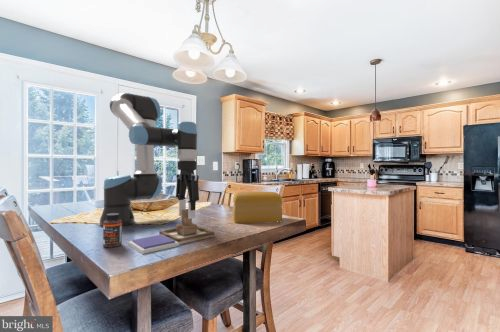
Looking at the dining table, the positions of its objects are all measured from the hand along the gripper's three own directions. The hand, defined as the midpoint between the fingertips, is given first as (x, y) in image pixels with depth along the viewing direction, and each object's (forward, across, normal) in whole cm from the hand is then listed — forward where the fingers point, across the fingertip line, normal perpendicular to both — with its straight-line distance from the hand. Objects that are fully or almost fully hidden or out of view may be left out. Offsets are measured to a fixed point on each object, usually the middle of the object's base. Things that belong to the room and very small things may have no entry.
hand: (186, 216), depth 106 cm
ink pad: (+8, +3, -15) cm, 17 cm away
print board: (+8, 0, 0) cm, 8 cm away
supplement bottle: (+8, -7, -26) cm, 28 cm away
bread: (+8, -3, +43) cm, 43 cm away
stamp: (+7, 0, 0) cm, 7 cm away
